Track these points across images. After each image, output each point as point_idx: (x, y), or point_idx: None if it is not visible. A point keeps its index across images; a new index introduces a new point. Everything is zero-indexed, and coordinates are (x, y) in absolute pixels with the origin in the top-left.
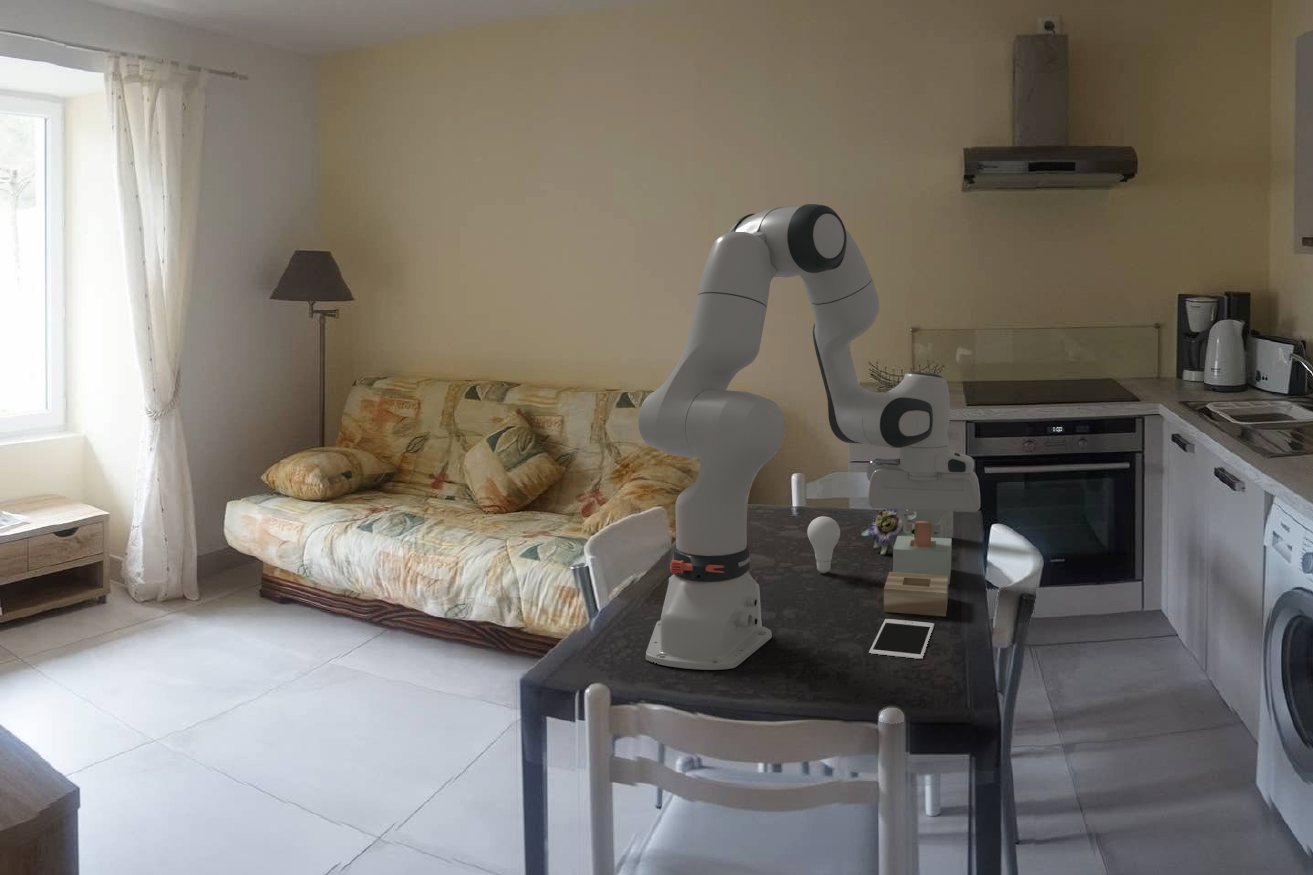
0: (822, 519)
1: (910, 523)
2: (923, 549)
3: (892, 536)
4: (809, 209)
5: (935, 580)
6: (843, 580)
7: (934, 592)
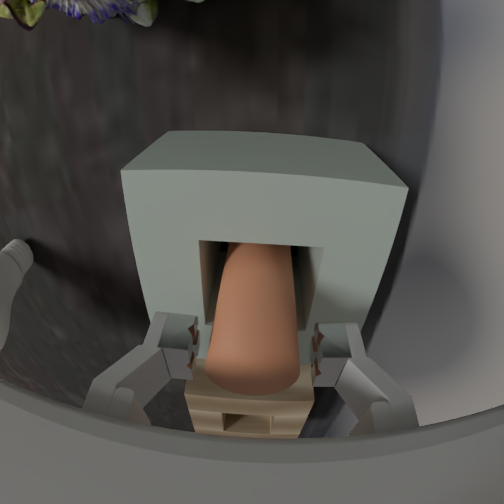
0: None
1: (186, 373)
2: None
3: (100, 16)
4: None
5: (283, 418)
6: (79, 289)
7: None
